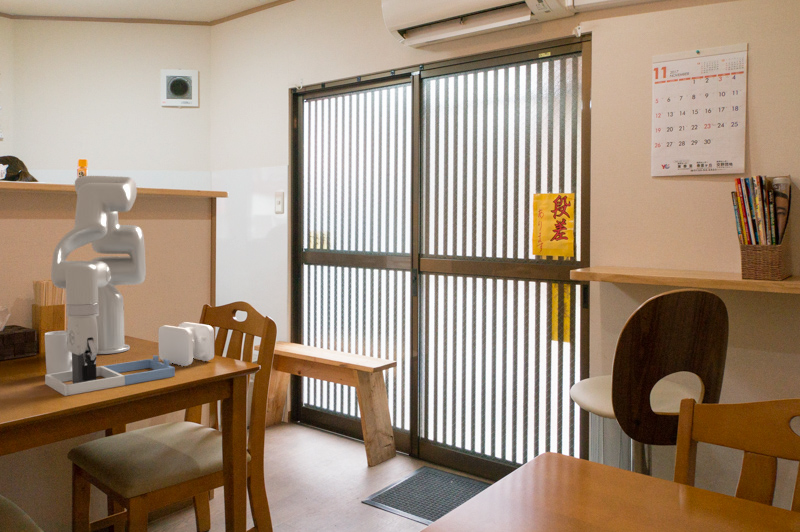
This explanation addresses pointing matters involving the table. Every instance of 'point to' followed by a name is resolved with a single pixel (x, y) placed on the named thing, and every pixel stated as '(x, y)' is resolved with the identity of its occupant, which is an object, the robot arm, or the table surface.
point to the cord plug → (78, 368)
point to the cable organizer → (186, 343)
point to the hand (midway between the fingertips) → (84, 376)
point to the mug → (57, 352)
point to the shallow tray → (112, 376)
